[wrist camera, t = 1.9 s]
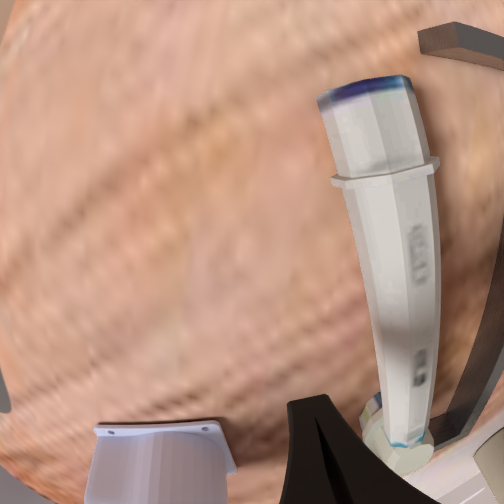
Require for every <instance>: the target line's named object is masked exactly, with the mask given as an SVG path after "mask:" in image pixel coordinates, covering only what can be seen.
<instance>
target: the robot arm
mask: <svg viewBox="0 0 504 504" xmlns="http://www.w3.org/2000/svg"><path fill="white" fill-rule="evenodd" d="M287 412H288V423H289V433H290V440H289V454H288V462H287V469H286V475H285V481H284V486H283V491H282V495H281V499H280V503H279V504H441V503H439V502H437V501H435V500H433V499H432V498H430V497H429V496H427V495H426V494H424V493H422V492H421V491H419V490H418V489H416V488H415V487H413V486H412V485H410V484H409V483H408V482H406V481H405V480H404V479H402V478H401V477H400V476H399V475H397V474H396V473H395V472H394V471H393V470H391V469H390V468H389V467H388V466H387V465H386V464H385V463H383V462H382V461H381V460H380V459H379V458H378V457H377V456H376V455H375V454H374V453H373V452H372V451H371V450H370V449H369V448H368V447H367V446H366V445H365V443H364V442H363V441H362V440H361V439H360V438H359V437H358V435H357V434H356V433H355V432H354V431H353V430H352V428H351V427H350V426H349V425H348V423H347V422H346V421H345V420H344V418H343V417H342V416H341V414H340V413H339V411H338V410H337V409H336V407H335V406H334V404H333V403H332V401H331V399H330V398H329V396H328V395H326V394H322V395H318V396H313V397H308V398H304V399H299V400H294V401H290V402H288V403H287ZM94 432H95V433H96V435H97V436H98V437H97V442H96V446H95V450H94V454H93V458H92V463H91V467H90V472H89V477H88V481H87V486H86V491H85V497H84V504H228V491H227V478H226V475H228V474H235V473H236V472H237V467H236V465H235V462H234V460H233V457H232V454H231V452H230V449H229V447H228V444H227V441H226V439H225V436H224V433H223V431H222V428H221V425H220V423H219V422H218V421H215V420H209V421H198V422H186V423H171V424H150V425H95V426H94Z"/></svg>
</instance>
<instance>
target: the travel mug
mask: <svg viewBox="0 0 504 504" xmlns="http://www.w3.org/2000/svg"><path fill="white" fill-rule="evenodd" d="M474 460H475V462H476V464H477V466H478V467H479V469H480V471H481V473H482V474H483V476H484V478H485V480H486V481H487V483H488V485H489V487H490V489H491V491H492V492H493V494H494V496H495V498H496V500H497V502H498V503H499V504H504V428H503V429H501V430H500V431H498V432H497V433H496V434H494V435H493V436H492V437H491V438H489V439H488V440H487V441H486V442H485V443H484V444H483V445H482V446H481V447H480V448H479V449H478V450H477V452H476V454H475V456H474Z"/></svg>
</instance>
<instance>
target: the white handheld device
mask: <svg viewBox="0 0 504 504" xmlns="http://www.w3.org/2000/svg"><path fill="white" fill-rule="evenodd" d="M316 100H317V103H318V106H319V109H320V113H321V116H322V119H323V122H324V126H325V129H326V133H327V136H328V140H329V143H330V147H331V150H332V154H333V158H334V161H335V165H336V169H337V173H338V174H336V175H334V176H332V177H330V180H331V184H332V186H335V187H339V188H342V192H343V195H344V199H345V203H346V207H347V211H348V215H349V219H350V223H351V227H352V231H353V235H354V240H355V244H356V248H357V253H358V257H359V262H360V267H361V272H362V276H363V281H364V286H365V292H366V297H367V302H368V308H369V313H370V319H371V325H372V331H373V337H374V344H375V350H376V357H377V365H378V372H379V380H380V388H381V392H378V393H377V394H376V395H375V396H374V397H372V398H371V399H370V400H369V401H368V402H366V406H365V408H364V411H363V413H362V414H360V415H359V421H360V427H361V429H362V431H363V433H362V437H363V442H364V443H365V445H366V446H367V447H368V448H369V449H370V450H371V451H372V452H373V453H374V454H375V455H376V456H377V457H378V458H381V459H382V461H383V462H384V463H385V464H386V465H387V466H388V467H389V468H390V469H391V470H393V471H394V472H395V473H396V474H397V475H399V476H404V475H409V474H411V473H413V472H416V471H418V470H419V469H420V468H421V467H423V466H424V465H425V464H427V462H428V461H429V460H430V458H431V457H432V456H433V451H434V439H433V437H432V435H431V433H430V431H429V429H428V426H429V420H430V412H431V406H432V400H433V393H434V385H435V378H436V369H437V359H438V348H439V334H440V315H441V252H440V233H439V219H438V207H437V197H436V189H435V181H434V173H435V171H436V170H437V168H438V167H439V166H440V160H439V156H430V151H429V147H428V142H427V138H426V134H425V129H424V125H423V121H422V117H421V114H420V110H419V106H418V103H417V99H416V96H415V92H414V89H413V86H412V83H411V80H410V78H409V77H406V76H403V75H394V76H386V77H379V78H372V79H365V80H361V81H357V82H354V83H350V84H347V85H343V86H340V87H336V88H333V89H330V90H327V91H325V92H324V93H322V94H321V95H319V96H318V97H316Z"/></svg>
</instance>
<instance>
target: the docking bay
mask: <svg viewBox="0 0 504 504" xmlns="http://www.w3.org/2000/svg"><path fill="white" fill-rule="evenodd" d="M417 32H418V38H419V44H420V51H421V54H426V55H433V56H439V57H444V58H450V59H455V60H460V61H465V62H470V63H474V64H478V65H483V66H487V67H491V68H494V69H498V70H502V71H504V37H501V36H499V35H496V34H493V33H490V32H487V31H484V30H481V29H478V28H475V27H472V26H469V25H465V24H462V23H458V22H451V23H447V24H443V25H439V26H435V27H432V28H428V29H424V30H421V31H417ZM503 370H504V219H503V226H502V233H501V239H500V245H499V251H498V256H497V261H496V266H495V271H494V275H493V279H492V284H491V288H490V292H489V296H488V300H487V303H486V307H485V310H484V314H483V317H482V321H481V324H480V327H479V330H478V334H477V337H476V340H475V343H474V345H473V348H472V351H471V354H470V357H469V359H468V362H467V365H466V367H465V370H464V372H463V375H462V377H461V380H460V382H459V385H458V387H457V389H456V392H455V394H454V396H453V399H452V401H451V403H450V405H449V407H448V410H447V412H446V413H445V414H443V415H441V416H438V417H436V418H434V419H431V420H429V426H428V429H429V431H430V433H431V435H432V437H433V439H434V451H437V450H439V449H441V448H443V447H445V446H447V445H450V444H452V443H454V442H456V441H458V440H460V439H462V438H464V437H466V436H467V435H468V434H469V433H470V431H471V429H472V428H473V426H474V424H475V423H476V421H477V419H478V418H479V416H480V414H481V413H482V411H483V409H484V407H485V405H486V404H487V402H488V400H489V398H490V396H491V394H492V392H493V390H494V388H495V386H496V384H497V382H498V380H499V378H500V376H501V374H502V372H503ZM434 451H433V452H434Z"/></svg>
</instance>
